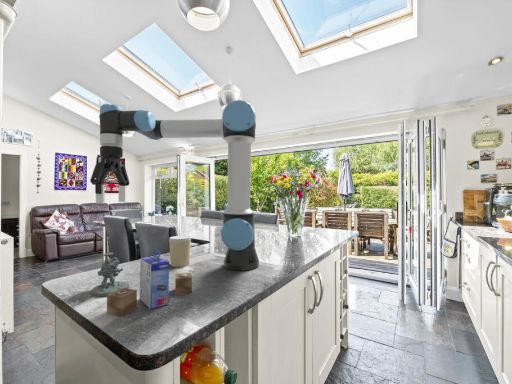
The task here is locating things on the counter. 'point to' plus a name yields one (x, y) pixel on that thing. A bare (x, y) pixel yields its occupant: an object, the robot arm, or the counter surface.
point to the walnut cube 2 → (183, 283)
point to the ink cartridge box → (154, 281)
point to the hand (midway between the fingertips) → (112, 202)
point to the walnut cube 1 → (121, 302)
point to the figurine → (110, 272)
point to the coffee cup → (180, 250)
